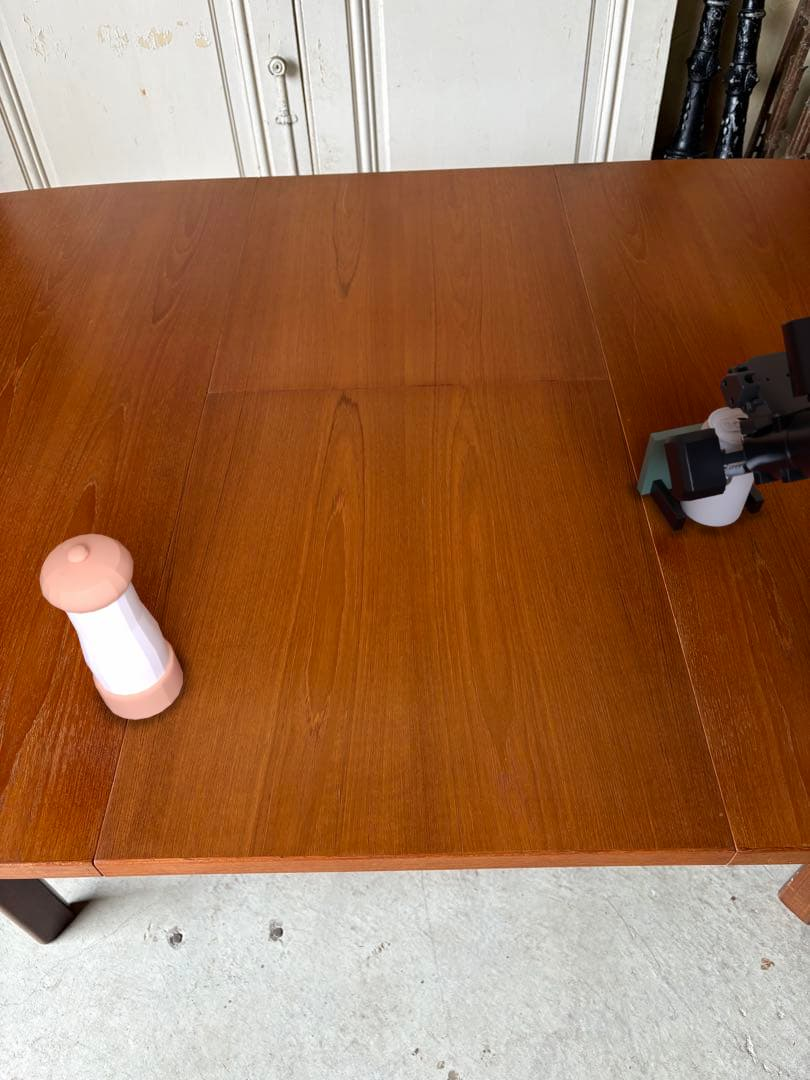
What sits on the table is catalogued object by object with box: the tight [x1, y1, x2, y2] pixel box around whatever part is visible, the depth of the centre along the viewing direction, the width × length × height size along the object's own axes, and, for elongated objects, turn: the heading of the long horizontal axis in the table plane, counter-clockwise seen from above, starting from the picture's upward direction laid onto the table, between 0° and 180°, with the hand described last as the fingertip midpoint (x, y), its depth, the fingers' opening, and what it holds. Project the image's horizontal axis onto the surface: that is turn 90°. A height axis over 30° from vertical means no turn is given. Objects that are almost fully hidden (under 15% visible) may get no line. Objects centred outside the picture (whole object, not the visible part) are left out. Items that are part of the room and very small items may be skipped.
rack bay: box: [636, 422, 765, 532], centre depth 86 cm, size 7×12×8 cm, turn 105°
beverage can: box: [679, 406, 754, 527], centre depth 84 cm, size 6×6×12 cm
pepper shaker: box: [39, 533, 184, 721], centre depth 68 cm, size 7×7×19 cm
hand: (717, 456), depth 84 cm, fingers closed on beverage can, 6 cm apart
